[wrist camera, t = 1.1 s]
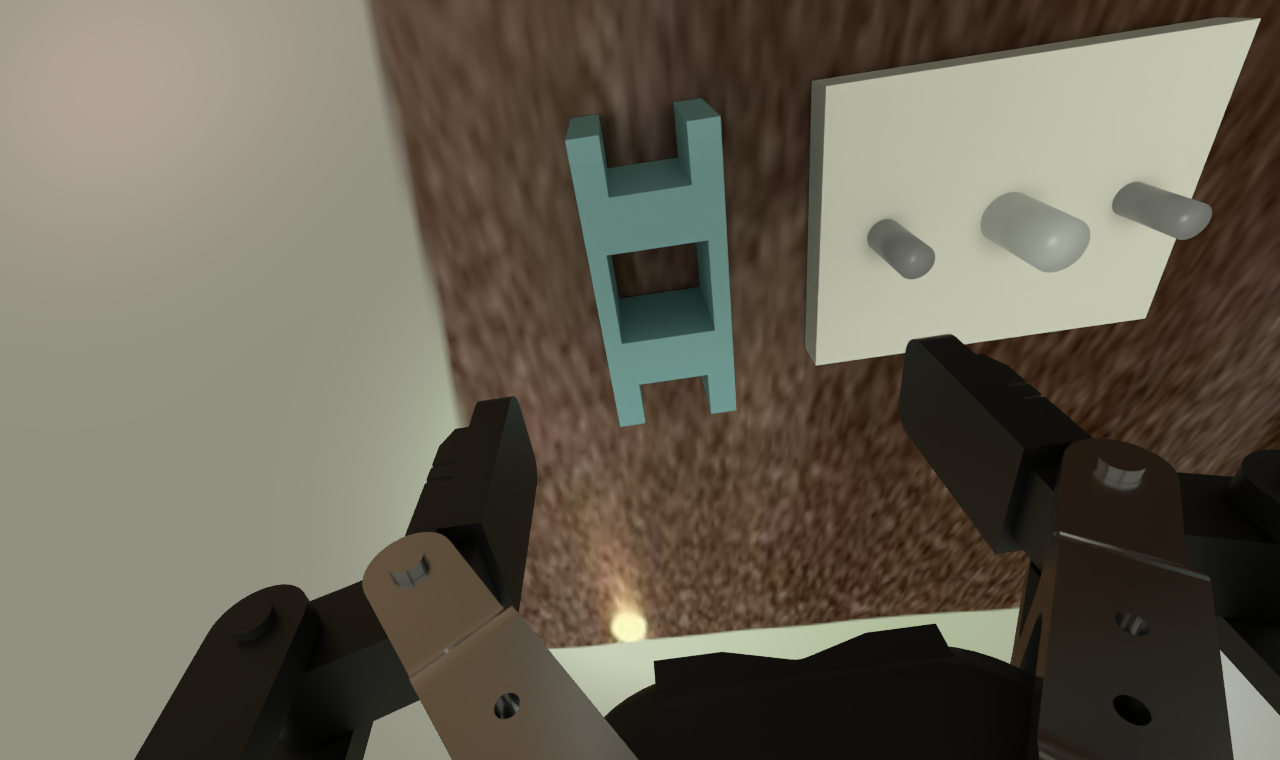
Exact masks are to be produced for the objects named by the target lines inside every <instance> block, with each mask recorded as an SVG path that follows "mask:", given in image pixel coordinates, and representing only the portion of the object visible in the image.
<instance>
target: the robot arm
mask: <svg viewBox="0 0 1280 760" xmlns="http://www.w3.org/2000/svg"><path fill="white" fill-rule="evenodd" d="M899 413H900V418H901V422H902V425H903V427H904V429H905V431H906V433H907V435H908V436H909V437H910V439H911V440H912V441H913V443H914V444H915V445H916V447H917V448H918V449H919V451H920V452H921V454H922V455H923V456H924V458H925V459H926V460H927V462H928V463H929V464H930V466H931V467H932V468H933V470H934V471H935V473H936V474H937V475H938V477H939V478H940V479H941V481H942V482H943V483H944V485H945V486H946V488H947V489H948V490H949V492H950V493H951V494H952V496H953V497H954V498H955V500H956V501H957V502H958V504H959V505H960V507H961V508H962V509H963V511H964V512H965V513H966V515H967V516H968V517H969V519H970V520H971V522H972V523H973V524H974V526H975V527H976V528H977V530H978V531H979V532H980V534H981V535H982V536H983V538H984V539H985V541H986V542H987V543H988V545H989V546H990V547H991V549H992V550H993V551H994V553H995V554H998V553H1005V552H1012V551H1020V550H1024V551H1025V553H1026V554H1027V555H1028V557H1029V558H1030V560H1029V563H1028V566H1027V569H1026V573H1025V579H1024V585H1023V591H1022V598H1021V604H1020V610H1019V616H1018V622H1017V628H1016V634H1015V641H1014V647H1013V653H1012V658H1011V662H1010V664H1009V663H1006V662H1004V661H1001V660H999V659H996V658H994V657H991V656H988V655H984V654H981V653H978V652H975V651H970V650H965V649H960V648H956V647H948V645H947V643H946V641H945V640H944V638H943V636H942V634H941V632H940V631H939V629H938V627H937V625H936V624H929V625H922V626H914V627H907V628H899V629H892V630H884V631H876V632H869V633H864V634H862V635H860V636H857V637H855V638H852V639H850V640H848V641H845V642H843V643H840V644H838V645H836V646H833V647H831V648H828V649H826V650H823V651H821V652H819V653H816V654H814V655H811V656H809V657H807V658H804V659H799V660H790V659H781V658H772V657H763V656H754V655H744V654H736V653H726V652H718V653H711V654H704V655H696V656H688V657H681V658H673V659H666V660H659V661H654V670H655V683H656V684H653V685H651V686H649V687H647V688H644V689H642V690H641V691H639V692H637V693H635V694H634V695H632V696H630V697H628V698H627V699H625V700H624V701H623V702H622V703H620V704H619V705H617V706H616V707H615V708H613V709H612V710H611V711H610V712H609V713H608V714H607V715H606V716H605V717H603V716H602V715H601V713H600V712H599V711H598V710H597V708H596V707H595V706H594V705H593V704H592V702H591V701H590V700H589V699H588V698H587V696H586V695H585V694H584V693H583V691H582V690H581V689H580V688H579V687H578V685H577V684H576V683H575V682H574V680H573V679H572V678H571V677H570V675H569V674H568V673H567V672H566V671H565V669H564V668H563V667H562V666H561V664H560V663H559V662H558V661H557V660H556V659H555V658H554V656H553V655H552V654H551V652H550V651H549V650H548V649H547V647H546V646H545V645H544V644H543V642H542V641H541V640H540V639H539V638H538V636H537V635H536V634H535V633H534V631H533V630H532V629H531V628H530V627H529V625H528V624H527V623H526V622H525V620H524V619H523V618H522V617H521V616H520V614H519V607H520V599H521V592H522V585H523V578H524V571H525V564H526V557H527V550H528V543H529V536H530V529H531V522H532V515H533V508H534V501H535V494H536V487H537V467H536V461H535V456H534V452H533V449H532V446H531V442H530V439H529V436H528V432H527V429H526V426H525V422H524V419H523V416H522V412H521V409H520V406H519V403H518V401H517V399H516V398H515V397H514V396H512V397H505V398H498V399H491V400H484V401H479V402H477V404H476V406H475V409H474V413H473V416H472V419H471V422H470V425H469V427H465V428H458V429H455V430H454V431H453V432H452V433H451V434H450V436H448V437H447V439H446V440H445V441H444V442H443V443H442V444H441V445H440V446H439V448H438V451H437V454H436V457H435V459H434V461H433V464H432V465H433V468H431V470H430V472H429V475H428V477H427V483H426V484H425V485H424V488H423V490H422V493H421V495H420V498H419V501H418V503H417V506H416V508H415V511H414V514H413V516H412V519H411V522H410V524H409V527H408V529H407V532H406V535H405V537H403V538H401V539H399V540H397V541H395V542H393V543H391V544H390V545H388V546H387V547H386V548H385V549H383V550H382V551H381V552H379V553H378V555H377V556H375V558H374V559H373V560H372V561H371V563H370V564H369V566H368V567H367V569H366V571H365V574H364V576H363V580H362V581H360V582H357V583H355V584H353V585H350V586H348V587H345V588H343V589H340V590H338V591H335V592H332V593H330V594H327V595H325V596H322V597H320V598H317V599H314V600H312V601H309V599H308V598H307V596H306V595H305V593H304V592H303V591H302V590H301V589H300V588H298V587H296V586H293V585H284V584H283V585H275V586H271V587H267V588H264V589H262V590H259V591H257V592H255V593H253V594H251V595H249V596H247V597H245V598H244V599H242V600H240V601H239V602H238V603H236V604H235V605H233V606H232V607H231V608H230V609H229V610H227V611H226V612H225V613H224V614H223V615H222V616H221V617H220V618H219V619H218V620H217V621H216V623H215V624H214V625H213V626H212V628H211V629H210V631H209V633H208V634H207V636H206V637H205V639H204V641H203V643H202V644H201V646H200V648H199V649H198V651H197V653H196V655H195V656H194V658H193V660H192V661H191V663H190V665H189V667H188V668H187V670H186V672H185V673H184V675H183V677H182V679H181V680H180V682H179V684H178V685H177V687H176V689H175V691H174V693H173V694H172V696H171V697H170V699H169V701H168V703H167V705H166V706H165V708H164V710H163V711H162V713H161V715H160V716H159V718H158V720H157V721H156V723H155V725H154V727H153V728H152V730H151V732H150V733H149V735H148V737H147V739H146V740H145V742H144V744H143V746H142V747H141V749H140V751H139V752H138V754H137V756H136V758H135V759H134V760H363V758H364V754H365V750H366V746H367V743H368V739H369V735H370V732H371V728H372V724H373V721H375V720H377V719H379V718H381V717H384V716H386V715H388V714H390V713H392V712H394V711H397V710H399V709H401V708H403V707H405V706H408V705H410V704H412V703H414V702H416V701H419V700H420V701H421V703H422V704H423V706H424V708H425V710H426V712H427V714H428V715H429V718H430V720H431V721H432V723H433V725H434V727H435V729H436V731H437V732H438V734H439V736H440V738H441V740H442V742H443V744H444V746H445V748H446V749H447V751H448V753H449V755H450V757H451V759H452V760H1234V758H1233V750H1232V742H1231V735H1230V726H1229V719H1228V711H1227V703H1226V695H1225V687H1224V680H1223V671H1222V664H1221V656H1220V650H1221V651H1222V652H1223V653H1224V654H1225V655H1226V656H1227V658H1228V659H1229V660H1230V661H1231V662H1232V663H1233V664H1234V665H1235V667H1236V668H1237V669H1238V670H1239V671H1240V672H1241V673H1242V674H1243V675H1244V676H1245V678H1246V679H1247V680H1248V681H1249V682H1250V683H1251V684H1252V685H1253V686H1254V688H1256V690H1257V691H1258V692H1259V693H1260V694H1261V695H1262V696H1263V697H1264V699H1265V700H1266V701H1267V702H1268V703H1269V704H1270V705H1271V706H1272V707H1273V708H1274V710H1275V711H1276V712H1277V713H1278V714H1279V715H1280V450H1263V451H1257V452H1254V453H1251V454H1249V455H1248V456H1246V457H1245V458H1244V460H1243V461H1242V463H1241V465H1240V467H1239V468H1238V470H1237V472H1236V474H1235V476H1234V477H1230V476H1217V475H1204V474H1190V473H1178V472H1176V471H1175V470H1174V468H1173V467H1172V466H1171V465H1170V464H1169V463H1168V462H1166V461H1165V460H1164V459H1162V458H1161V457H1159V456H1158V455H1156V454H1154V453H1152V452H1150V451H1149V450H1146V449H1144V448H1142V447H1139V446H1136V445H1133V444H1130V443H1126V442H1122V441H1117V440H1111V439H1093V438H1092V437H1091V436H1090V435H1089V434H1088V433H1086V432H1085V431H1084V430H1083V429H1082V428H1081V427H1079V426H1078V425H1077V424H1076V423H1075V422H1074V421H1072V420H1071V419H1070V418H1069V417H1068V416H1066V415H1065V414H1064V413H1063V412H1062V411H1061V410H1059V409H1058V408H1057V407H1056V406H1055V405H1054V404H1052V403H1051V402H1050V401H1049V400H1048V399H1047V398H1045V397H1041V393H1040V392H1038V391H1037V390H1036V389H1035V388H1034V387H1032V386H1031V385H1030V384H1026V381H1025V380H1024V379H1023V378H1022V377H1021V376H1020V375H1018V374H1017V373H1016V372H1015V371H1014V370H1013V369H1011V368H1010V367H1009V366H1008V365H1005V364H1003V363H1001V362H999V361H997V360H994V359H992V358H990V357H988V356H985V355H983V354H978V355H976V354H975V353H973V352H972V351H971V350H970V349H969V348H968V347H967V346H966V345H964V344H963V343H962V342H961V341H960V340H959V339H958V338H957V337H955V336H954V335H952V334H944V335H938V336H931V337H924V338H917V339H912V340H910V341H909V342H908V344H907V346H906V351H905V358H904V367H903V375H902V383H901V391H900V400H899Z"/></svg>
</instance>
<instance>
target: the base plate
mask: <svg viewBox="0 0 1280 760" xmlns="http://www.w3.org/2000/svg"><path fill="white" fill-rule="evenodd" d="M1260 19H1261V18H1222V17H1217V18H1211V19H1204V20H1198V21H1192V22H1185V23H1179V24H1172V25H1166V26H1160V27H1153V28H1147V29H1140V30H1134V31H1128V32H1121V33H1115V34H1108V35H1102V36H1096V37H1089V38H1083V39H1076V40H1070V41H1064V42H1057V43H1051V44H1044V45H1038V46H1032V47H1025V48H1019V49H1012V50H1006V51H1000V52H993V53H987V54H980V55H974V56H968V57H961V58H955V59H948V60H942V61H936V62H929V63H923V64H916V65H910V66H904V67H897V68H891V69H884V70H878V71H872V72H865V73H859V74H852V75H846V76H840V77H833V78H827V79H820V80H814V81H812V90H811V130H810V170H809V209H808V249H807V289H806V328H805V348H806V350H807V352H808V353H809V355H810V357H811V359H812V360H813V362H814V364H815V365H823V364H830V363H837V362H844V361H851V360H858V359H865V358H872V357H879V356H886V355H893V354H900V353H905V351H906V346H907V344H908V342H909V341H910V340H912V339H917V338H924V337H931V336H938V335H944V334H952V335H954V336H955V337H957V338H958V339H959V340H960V341H961V342H962V343H963V344H969V343H976V342H983V341H990V340H997V339H1004V338H1011V337H1018V336H1025V335H1032V334H1039V333H1046V332H1053V331H1060V330H1067V329H1074V328H1081V327H1088V326H1095V325H1102V324H1109V323H1116V322H1123V321H1130V320H1137V319H1143V318H1146V315H1147V312H1148V310H1149V307H1150V305H1151V302H1152V299H1153V297H1154V294H1155V292H1156V289H1157V286H1158V284H1159V281H1160V279H1161V276H1162V273H1163V271H1164V268H1165V266H1166V263H1167V260H1168V258H1169V255H1170V253H1171V250H1172V247H1173V245H1174V242H1175V240H1176V239H1179V240H1185V239H1189V238H1191V237H1193V236H1195V235H1197V234H1198V233H1200V232H1201V231H1202V230H1203V229H1204V228H1205V227H1206V226H1207V224H1208V223H1209V221H1210V219H1211V215H1212V210H1211V207H1210V206H1209V205H1208V204H1205V203H1202V202H1199V201H1196V200H1193V199H1191V198H1192V196H1193V193H1194V190H1195V188H1196V185H1197V183H1198V180H1199V177H1200V175H1201V172H1202V170H1203V167H1204V164H1205V162H1206V159H1207V157H1208V154H1209V152H1210V149H1211V146H1212V144H1213V141H1214V139H1215V136H1216V133H1217V131H1218V128H1219V126H1220V123H1221V120H1222V118H1223V115H1224V113H1225V110H1226V107H1227V105H1228V102H1229V100H1230V97H1231V94H1232V92H1233V89H1234V87H1235V84H1236V81H1237V79H1238V76H1239V74H1240V71H1241V69H1242V66H1243V63H1244V61H1245V58H1246V56H1247V53H1248V50H1249V48H1250V45H1251V43H1252V40H1253V37H1254V35H1255V32H1256V30H1257V27H1258V24H1259V22H1260Z"/></svg>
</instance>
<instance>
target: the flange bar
mask: <svg viewBox="0 0 1280 760" xmlns="http://www.w3.org/2000/svg"><path fill="white" fill-rule="evenodd" d="M673 108H674V118H675V129H676V140H677V150H678V158H671V159H665V160H658V161H652V162H645V163H639V164H632V165H626V166H619V167H613V168H607V162H606V156H605V149H604V143H603V137H602V131H601V124H600V118H599V114H596V115H590V116H584V117H577V118H571V119H570V123H569V127H568V131H567V135H566V138H565V143H566V148H567V153H568V159H569V164H570V169H571V174H572V179H573V184H574V190H575V195H576V200H577V205H578V210H579V215H580V221H581V226H582V231H583V236H584V241H585V246H586V251H587V257H588V262H589V267H590V272H591V277H592V282H593V288H594V293H595V298H596V303H597V308H598V313H599V319H600V324H601V329H602V334H603V339H604V344H605V350H606V355H607V360H608V365H609V370H610V375H611V380H612V386H613V391H614V396H615V401H616V406H617V411H618V417H619V422H620V427H621V426H628V425H635V424H642V423H645V414H644V405H643V395H642V386H641V384H647V383H654V382H661V381H668V380H675V379H682V378H689V377H696V376H701V378H702V382H703V385H704V389H705V393H706V396H707V400H708V404H709V408H710V411H711V414H713V413H720V412H727V411H734V410H736V395H735V376H734V358H733V339H732V320H731V302H730V283H729V265H728V246H727V227H726V209H725V190H724V172H723V153H722V134H721V116H720V115H719V114H718V113H717V112H716V111H714V110H713V109H712V108H711V107H710V106H709V105H708V104H707V103H706V102H705V101H704V100H703V99H702V98H699V99H692V100H686V101H680V102H673ZM694 242H696V249H697V261H698V273H699V285H700V287H694V288H687V289H680V290H674V291H667V292H660V293H653V294H647V295H640V296H633V297H626V298H620V299H619V296H618V290H617V284H616V278H615V272H614V266H613V260H612V255H614V254H620V253H627V252H634V251H640V250H647V249H654V248H660V247H667V246H674V245H680V244H687V243H694Z"/></svg>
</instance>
